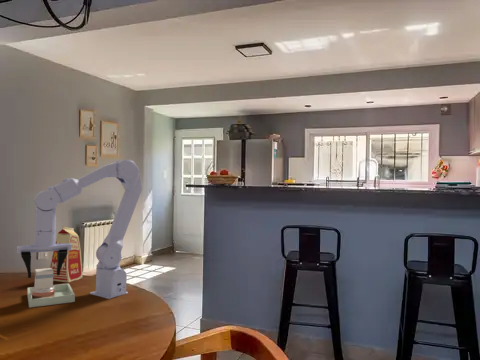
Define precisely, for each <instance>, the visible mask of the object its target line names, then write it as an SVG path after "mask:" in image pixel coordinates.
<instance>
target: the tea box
mask: <svg viewBox="0 0 480 360" xmlns="http://www.w3.org/2000/svg"><path fill="white" fill-rule="evenodd" d="M53 285H54V281H53V270H52V268H50V267H48V268H37V269H36V268H35V269H34V286H35V289H36V290H37V289H46V288H53Z"/></svg>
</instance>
